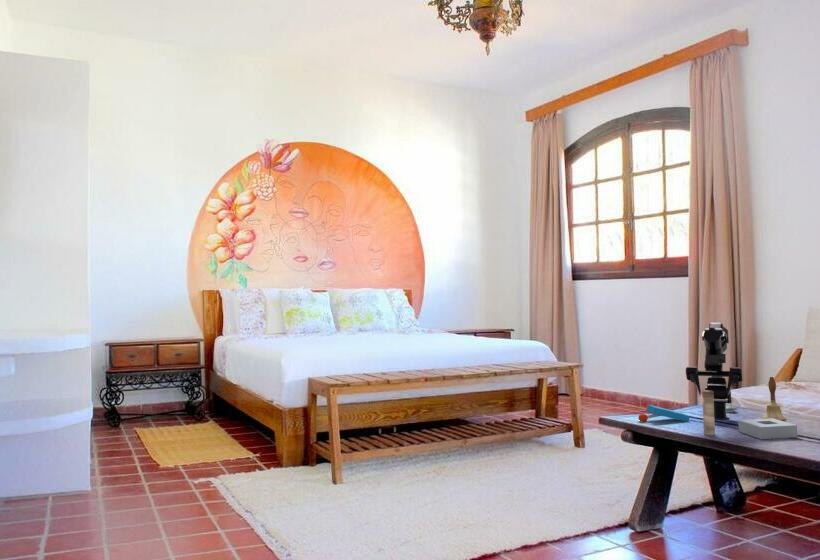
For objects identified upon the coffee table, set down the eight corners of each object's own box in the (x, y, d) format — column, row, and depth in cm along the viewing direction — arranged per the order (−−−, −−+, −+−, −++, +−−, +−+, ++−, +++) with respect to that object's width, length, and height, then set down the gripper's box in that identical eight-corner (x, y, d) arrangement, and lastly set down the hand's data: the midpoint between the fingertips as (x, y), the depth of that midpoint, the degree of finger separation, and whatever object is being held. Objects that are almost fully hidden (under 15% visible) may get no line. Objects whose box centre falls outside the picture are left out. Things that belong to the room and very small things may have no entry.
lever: (677, 430, 271) (634, 419, 270) (682, 412, 271) (638, 402, 270) (685, 433, 264) (641, 422, 263) (690, 416, 264) (645, 405, 264)
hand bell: (760, 419, 264) (759, 377, 264) (763, 416, 271) (761, 375, 271) (785, 421, 259) (783, 378, 259) (787, 417, 266) (785, 376, 266)
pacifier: (723, 413, 279) (738, 413, 278) (722, 398, 279) (737, 397, 279) (717, 410, 286) (732, 409, 286) (716, 395, 287) (731, 394, 286)
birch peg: (702, 433, 243) (701, 390, 243) (713, 433, 243) (711, 390, 243) (705, 435, 240) (703, 391, 240) (716, 435, 239) (714, 391, 239)
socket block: (738, 431, 244) (738, 420, 244) (773, 429, 245) (772, 418, 245) (761, 439, 231) (760, 427, 231) (797, 437, 232) (797, 425, 232)
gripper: (684, 345, 255) (683, 381, 246) (740, 345, 246) (741, 383, 238) (687, 361, 262) (686, 397, 254) (741, 362, 254) (742, 399, 245)
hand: (713, 394), depth 247 cm, fingers open, 9 cm apart
